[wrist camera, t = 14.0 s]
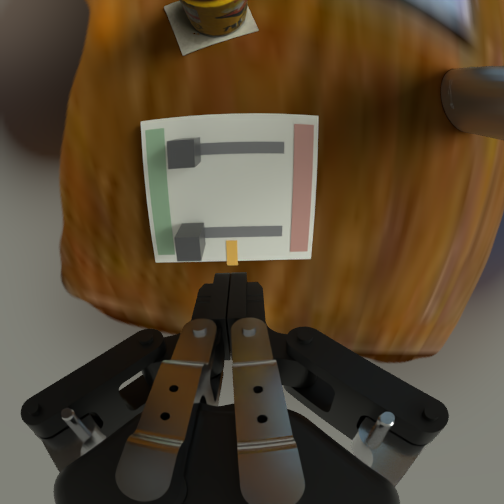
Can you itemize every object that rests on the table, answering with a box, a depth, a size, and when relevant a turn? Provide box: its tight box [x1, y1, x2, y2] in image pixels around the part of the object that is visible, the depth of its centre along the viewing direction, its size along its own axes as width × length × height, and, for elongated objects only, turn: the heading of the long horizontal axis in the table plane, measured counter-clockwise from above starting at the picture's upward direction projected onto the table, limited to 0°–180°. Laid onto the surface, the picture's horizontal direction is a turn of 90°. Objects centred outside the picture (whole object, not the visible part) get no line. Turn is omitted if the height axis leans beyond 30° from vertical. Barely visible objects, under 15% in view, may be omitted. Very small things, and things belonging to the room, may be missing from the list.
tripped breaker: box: [174, 223, 206, 261], centre depth 29 cm, size 2×2×4 cm
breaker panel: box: [141, 113, 318, 265], centre depth 30 cm, size 18×16×2 cm
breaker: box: [167, 137, 201, 169], centre depth 25 cm, size 2×2×4 cm
